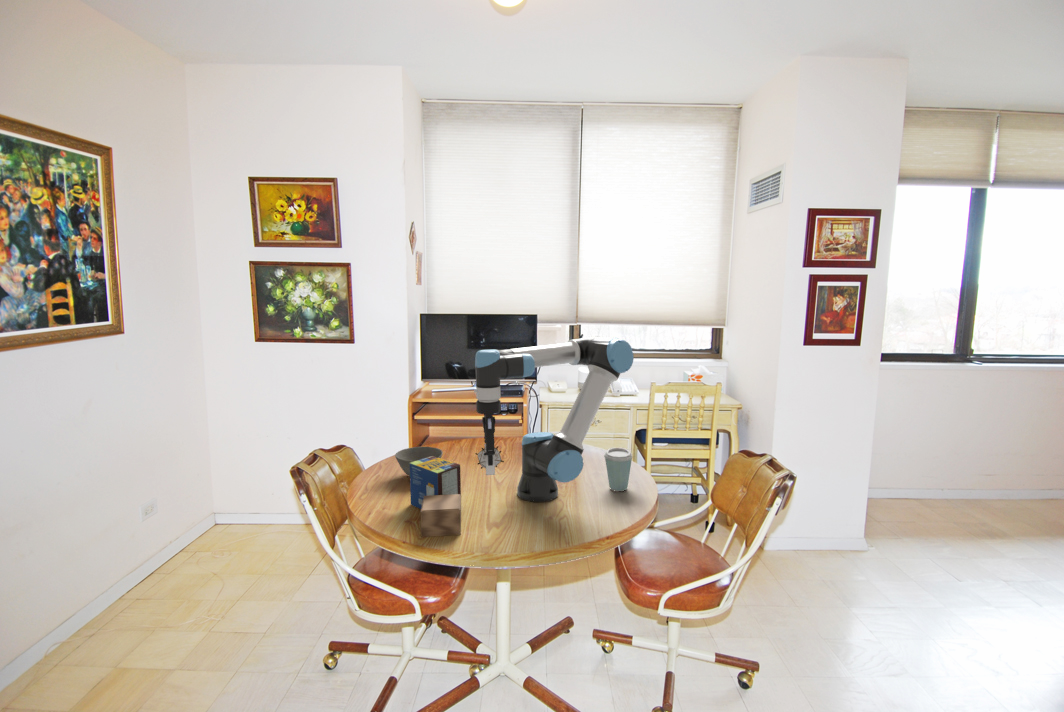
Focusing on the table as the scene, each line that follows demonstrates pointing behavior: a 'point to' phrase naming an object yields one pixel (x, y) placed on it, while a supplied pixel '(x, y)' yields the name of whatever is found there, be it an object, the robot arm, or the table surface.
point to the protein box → (433, 479)
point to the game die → (483, 457)
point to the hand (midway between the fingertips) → (489, 468)
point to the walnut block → (441, 515)
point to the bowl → (415, 456)
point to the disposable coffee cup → (618, 467)
